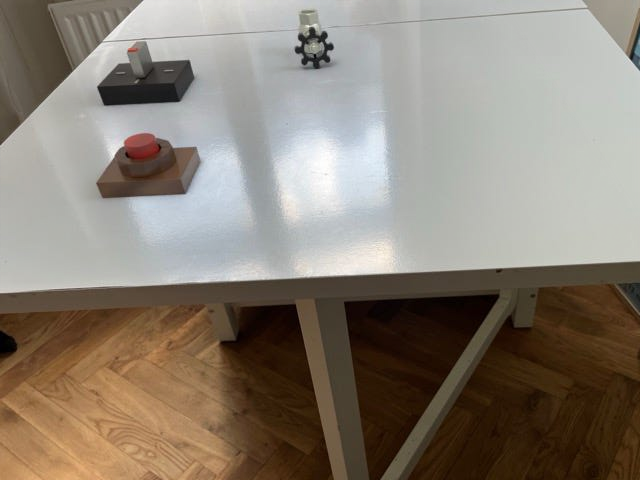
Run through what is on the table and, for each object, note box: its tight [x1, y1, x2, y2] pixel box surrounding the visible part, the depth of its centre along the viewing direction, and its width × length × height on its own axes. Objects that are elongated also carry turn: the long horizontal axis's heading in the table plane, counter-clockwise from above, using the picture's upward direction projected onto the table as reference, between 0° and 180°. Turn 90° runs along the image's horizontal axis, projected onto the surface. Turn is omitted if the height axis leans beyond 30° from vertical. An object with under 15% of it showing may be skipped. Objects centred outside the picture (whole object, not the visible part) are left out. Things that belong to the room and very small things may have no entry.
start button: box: [123, 132, 160, 159], centre depth 66 cm, size 4×4×2 cm
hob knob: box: [126, 40, 154, 78], centre depth 87 cm, size 5×2×4 cm, turn 2°
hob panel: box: [96, 59, 195, 106], centre depth 90 cm, size 12×10×3 cm
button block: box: [95, 137, 202, 199], centre depth 68 cm, size 10×8×4 cm
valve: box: [294, 8, 335, 70], centre depth 97 cm, size 7×7×12 cm
